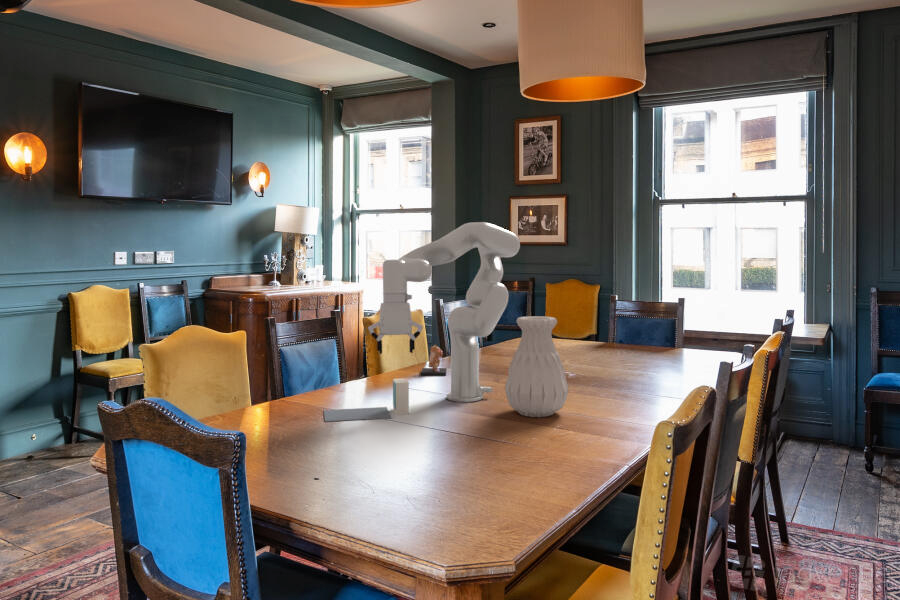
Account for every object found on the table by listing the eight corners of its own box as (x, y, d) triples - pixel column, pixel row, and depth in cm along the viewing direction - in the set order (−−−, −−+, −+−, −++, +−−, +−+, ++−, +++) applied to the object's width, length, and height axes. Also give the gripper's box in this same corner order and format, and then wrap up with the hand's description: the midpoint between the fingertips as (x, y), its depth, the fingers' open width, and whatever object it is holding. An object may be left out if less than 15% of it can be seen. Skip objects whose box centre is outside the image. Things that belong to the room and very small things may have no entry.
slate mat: (386, 407, 225) (386, 406, 225) (391, 418, 212) (391, 417, 211) (323, 411, 221) (323, 410, 221) (325, 422, 208) (325, 421, 207)
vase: (527, 424, 204) (528, 323, 202) (492, 410, 222) (492, 316, 219) (581, 416, 213) (582, 319, 211) (544, 403, 231) (544, 313, 229)
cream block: (405, 408, 224) (405, 378, 223) (408, 414, 217) (408, 382, 216) (392, 409, 223) (392, 378, 222) (395, 414, 216) (395, 383, 215)
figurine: (445, 376, 280) (445, 346, 279) (420, 376, 280) (420, 346, 279) (446, 371, 290) (446, 343, 289) (422, 371, 290) (422, 343, 289)
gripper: (421, 297, 223) (421, 350, 224) (367, 298, 220) (368, 351, 222) (423, 299, 215) (424, 353, 217) (367, 300, 213) (368, 355, 214)
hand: (395, 352), depth 219 cm, fingers open, 9 cm apart
